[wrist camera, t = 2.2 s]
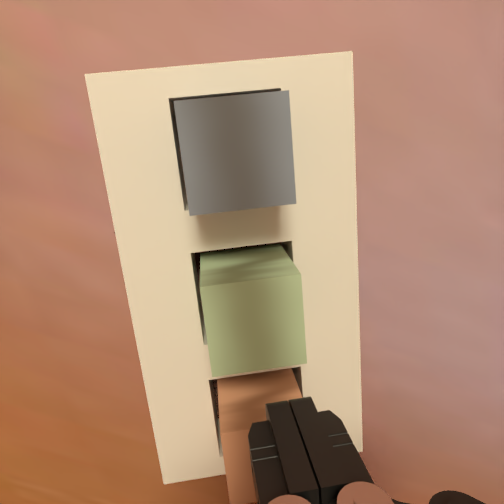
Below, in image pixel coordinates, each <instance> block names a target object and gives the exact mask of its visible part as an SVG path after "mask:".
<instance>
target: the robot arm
mask: <svg viewBox="0 0 504 504" xmlns="http://www.w3.org/2000/svg"><path fill="white" fill-rule="evenodd" d="M265 410H266V421H261V422H255V423H252V425H251V428H250V431H249V433H248V442H249V451H250V460H251V469H252V477H253V483H254V488H255V494H256V500H257V504H408V503H402V502H399V501H396V500H394V499H391V498H390V496H389V495H388V494H387V493H386V492H385V491H384V490H383V489H382V488H380V487H379V486H377V485H375V484H374V482H373V481H372V479H371V477H370V475H369V473H368V471H367V469H366V467H365V465H364V463H363V461H362V459H361V457H360V455H359V453H358V451H357V449H356V447H355V445H354V444H353V442H352V440H351V438H350V436H349V434H348V432H347V430H346V428H345V426H344V424H343V422H342V420H341V419H340V418H339V417H338V416H336V415H335V414H334V413H333V412H331V411H330V410H326V411H320V412H318V411H317V409H316V407H315V404H314V402H313V400H312V398H311V397H303V398H297V399H291V400H288V401H287V400H285V401H279V402H273V403H267V404H265ZM429 504H485V503H483V502H481V501H479V500H477V499H475V498H473V497H471V496H469V495H467V494H464V493H461V492H457V491H442V492H439V493H437V494H435V495H434V496H433V497H432V498H431V499H430V502H429Z"/></svg>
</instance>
